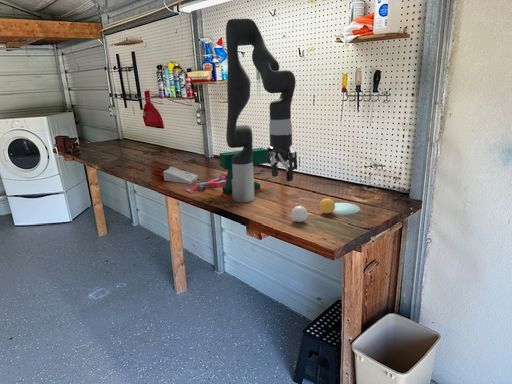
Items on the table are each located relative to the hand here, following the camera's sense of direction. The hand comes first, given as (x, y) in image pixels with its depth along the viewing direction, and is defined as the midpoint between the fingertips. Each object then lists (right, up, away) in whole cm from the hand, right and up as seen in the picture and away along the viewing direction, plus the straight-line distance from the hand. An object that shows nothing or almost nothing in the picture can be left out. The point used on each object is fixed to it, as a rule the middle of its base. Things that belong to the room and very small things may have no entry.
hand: (282, 178), depth 132 cm
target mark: (+26, -11, +21) cm, 35 cm away
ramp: (-52, +2, +81) cm, 96 cm away
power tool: (-10, -4, +52) cm, 53 cm away
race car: (-33, -3, +63) cm, 71 cm away
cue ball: (+7, -13, +9) cm, 17 cm away
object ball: (+19, -10, +16) cm, 27 cm away
